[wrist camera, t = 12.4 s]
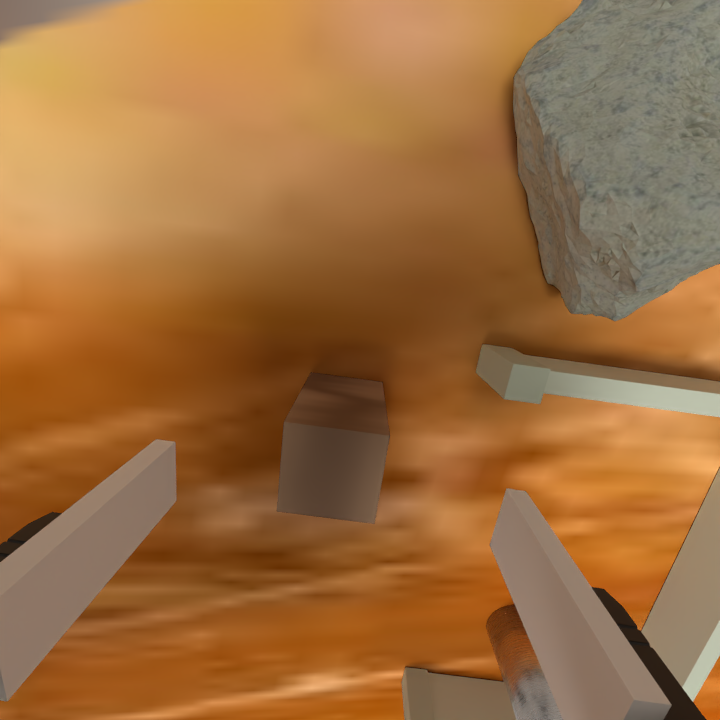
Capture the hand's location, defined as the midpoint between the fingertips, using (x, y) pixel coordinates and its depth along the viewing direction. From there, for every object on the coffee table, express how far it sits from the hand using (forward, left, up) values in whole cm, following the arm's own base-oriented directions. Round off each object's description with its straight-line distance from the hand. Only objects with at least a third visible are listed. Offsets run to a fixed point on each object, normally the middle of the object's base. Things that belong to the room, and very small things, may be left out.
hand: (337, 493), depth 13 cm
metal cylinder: (+15, -16, -8) cm, 23 cm away
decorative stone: (+11, +15, -9) cm, 20 cm away
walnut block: (0, 0, -8) cm, 8 cm away
